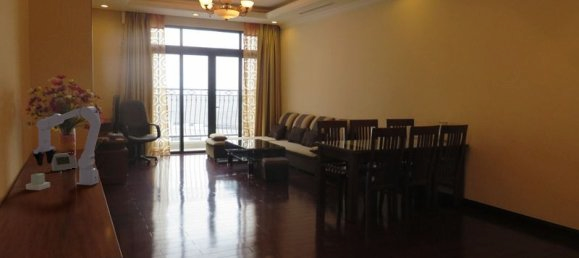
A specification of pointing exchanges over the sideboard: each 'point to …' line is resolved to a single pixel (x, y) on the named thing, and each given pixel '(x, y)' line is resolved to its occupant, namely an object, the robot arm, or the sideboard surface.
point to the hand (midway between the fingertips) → (44, 164)
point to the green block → (38, 178)
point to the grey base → (37, 186)
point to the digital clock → (63, 162)
